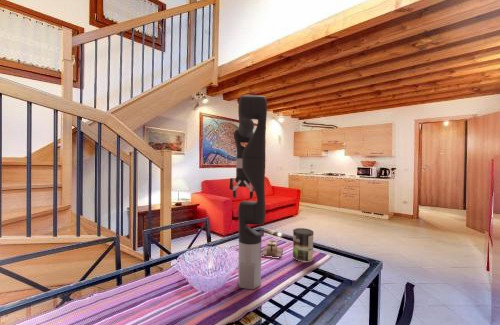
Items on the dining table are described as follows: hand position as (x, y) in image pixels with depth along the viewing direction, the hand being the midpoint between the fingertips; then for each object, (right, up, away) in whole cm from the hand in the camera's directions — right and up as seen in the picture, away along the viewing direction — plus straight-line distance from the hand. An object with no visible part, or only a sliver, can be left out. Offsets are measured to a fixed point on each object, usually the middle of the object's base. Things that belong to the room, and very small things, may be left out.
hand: (243, 198), depth 122 cm
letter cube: (+16, -29, +4) cm, 33 cm away
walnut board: (+16, -30, +3) cm, 34 cm away
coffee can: (+31, -31, -2) cm, 44 cm away
